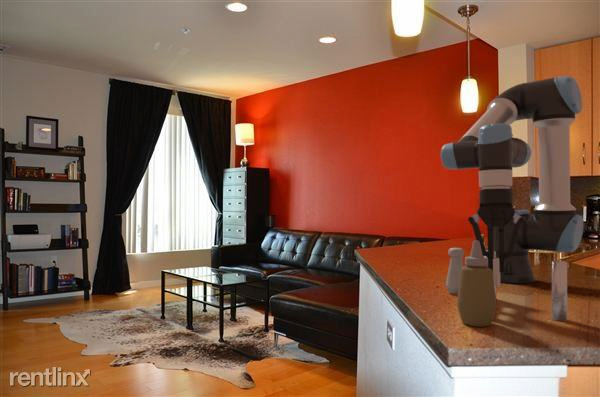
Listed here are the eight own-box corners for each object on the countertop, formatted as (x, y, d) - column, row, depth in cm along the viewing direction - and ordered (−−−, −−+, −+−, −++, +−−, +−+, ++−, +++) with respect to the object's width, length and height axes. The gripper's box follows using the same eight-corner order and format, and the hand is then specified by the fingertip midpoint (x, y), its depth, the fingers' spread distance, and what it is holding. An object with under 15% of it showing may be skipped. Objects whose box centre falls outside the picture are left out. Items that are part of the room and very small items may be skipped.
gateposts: (481, 298, 123) (481, 250, 123) (490, 297, 124) (490, 250, 124) (560, 321, 99) (559, 262, 99) (570, 320, 100) (570, 262, 100)
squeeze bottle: (450, 319, 101) (450, 239, 101) (485, 318, 102) (485, 239, 102) (467, 329, 93) (466, 242, 93) (504, 328, 94) (504, 242, 94)
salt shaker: (468, 295, 126) (468, 249, 126) (447, 295, 127) (447, 248, 127) (465, 291, 132) (465, 247, 132) (444, 290, 133) (444, 246, 133)
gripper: (525, 188, 110) (526, 285, 110) (469, 189, 116) (470, 281, 116) (524, 187, 103) (526, 290, 103) (465, 188, 109) (466, 285, 109)
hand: (496, 285), depth 109 cm, fingers closed
